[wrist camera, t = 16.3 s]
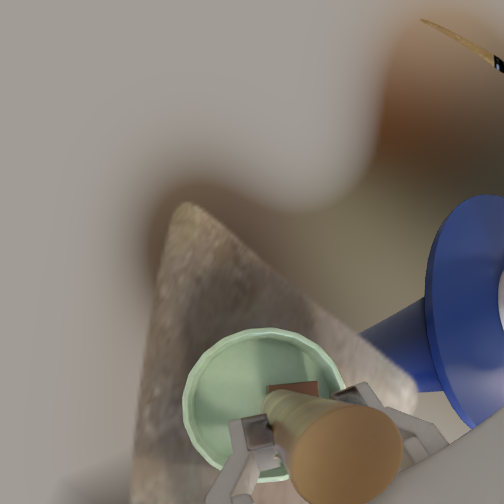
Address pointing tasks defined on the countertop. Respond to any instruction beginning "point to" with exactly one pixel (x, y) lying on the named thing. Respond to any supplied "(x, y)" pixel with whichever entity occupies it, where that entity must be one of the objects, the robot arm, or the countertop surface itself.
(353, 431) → the wooden cylinder
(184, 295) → the countertop surface
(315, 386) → the block
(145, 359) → the countertop surface
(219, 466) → the bowl
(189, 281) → the countertop surface
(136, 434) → the countertop surface
